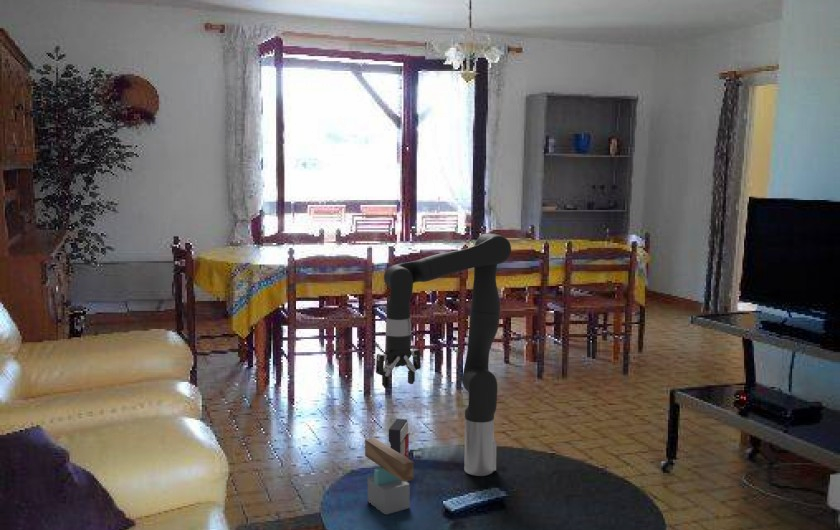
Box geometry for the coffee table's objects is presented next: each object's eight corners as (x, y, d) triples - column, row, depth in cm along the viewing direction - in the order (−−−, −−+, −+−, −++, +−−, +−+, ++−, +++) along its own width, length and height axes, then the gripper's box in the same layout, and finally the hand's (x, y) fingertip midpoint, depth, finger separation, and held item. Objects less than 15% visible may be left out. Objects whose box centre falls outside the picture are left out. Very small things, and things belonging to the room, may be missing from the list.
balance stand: (391, 495, 211) (391, 458, 209) (409, 507, 202) (409, 470, 201) (367, 501, 206) (367, 464, 205) (384, 514, 198) (384, 476, 197)
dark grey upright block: (402, 477, 223) (402, 430, 222) (388, 476, 224) (388, 429, 223) (409, 463, 234) (409, 419, 233) (396, 462, 235) (396, 418, 233)
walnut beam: (374, 454, 213) (374, 437, 212) (413, 479, 195) (413, 461, 194) (365, 456, 211) (365, 439, 211) (403, 481, 193) (403, 463, 192)
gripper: (412, 328, 222) (412, 379, 223) (371, 333, 214) (371, 386, 216) (425, 332, 215) (425, 385, 217) (383, 337, 208) (384, 392, 210)
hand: (398, 385), depth 217 cm, fingers open, 8 cm apart
